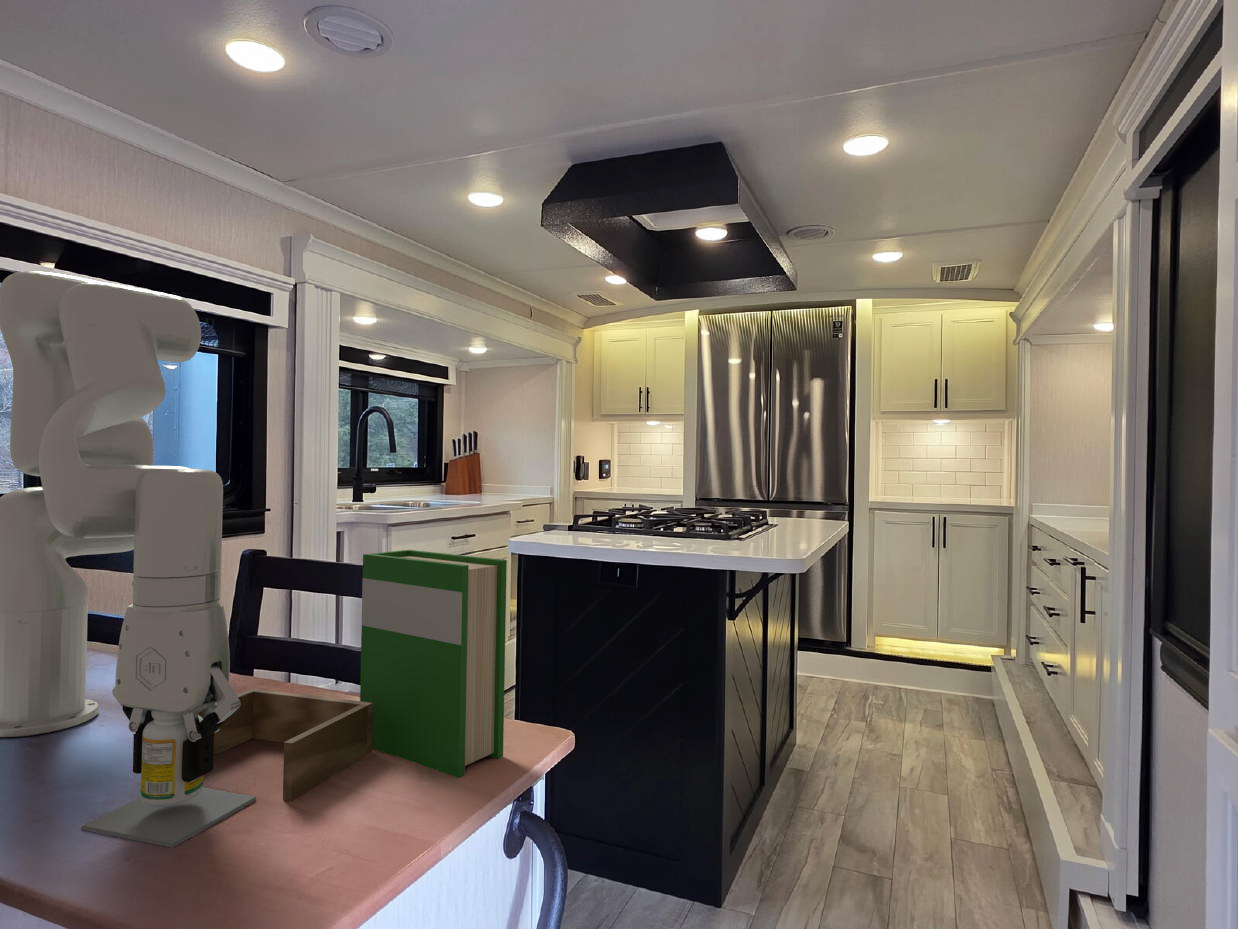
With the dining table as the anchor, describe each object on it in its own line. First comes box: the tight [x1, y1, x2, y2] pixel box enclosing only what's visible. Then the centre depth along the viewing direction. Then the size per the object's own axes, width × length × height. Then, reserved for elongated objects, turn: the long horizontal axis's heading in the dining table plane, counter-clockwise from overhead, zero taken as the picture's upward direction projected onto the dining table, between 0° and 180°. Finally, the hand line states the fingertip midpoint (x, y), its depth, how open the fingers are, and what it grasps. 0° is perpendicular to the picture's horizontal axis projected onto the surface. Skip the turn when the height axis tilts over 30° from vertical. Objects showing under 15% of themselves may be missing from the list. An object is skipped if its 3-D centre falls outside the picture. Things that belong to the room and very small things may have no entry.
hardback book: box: [359, 549, 508, 778], centre depth 90 cm, size 18×7×24 cm, turn 57°
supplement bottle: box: [140, 711, 204, 807], centre depth 72 cm, size 5×5×10 cm
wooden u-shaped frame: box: [197, 688, 373, 802], centre depth 84 cm, size 18×14×6 cm
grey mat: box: [80, 787, 257, 849], centre depth 72 cm, size 11×10×1 cm
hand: (173, 770), depth 72 cm, fingers closed on supplement bottle, 5 cm apart
